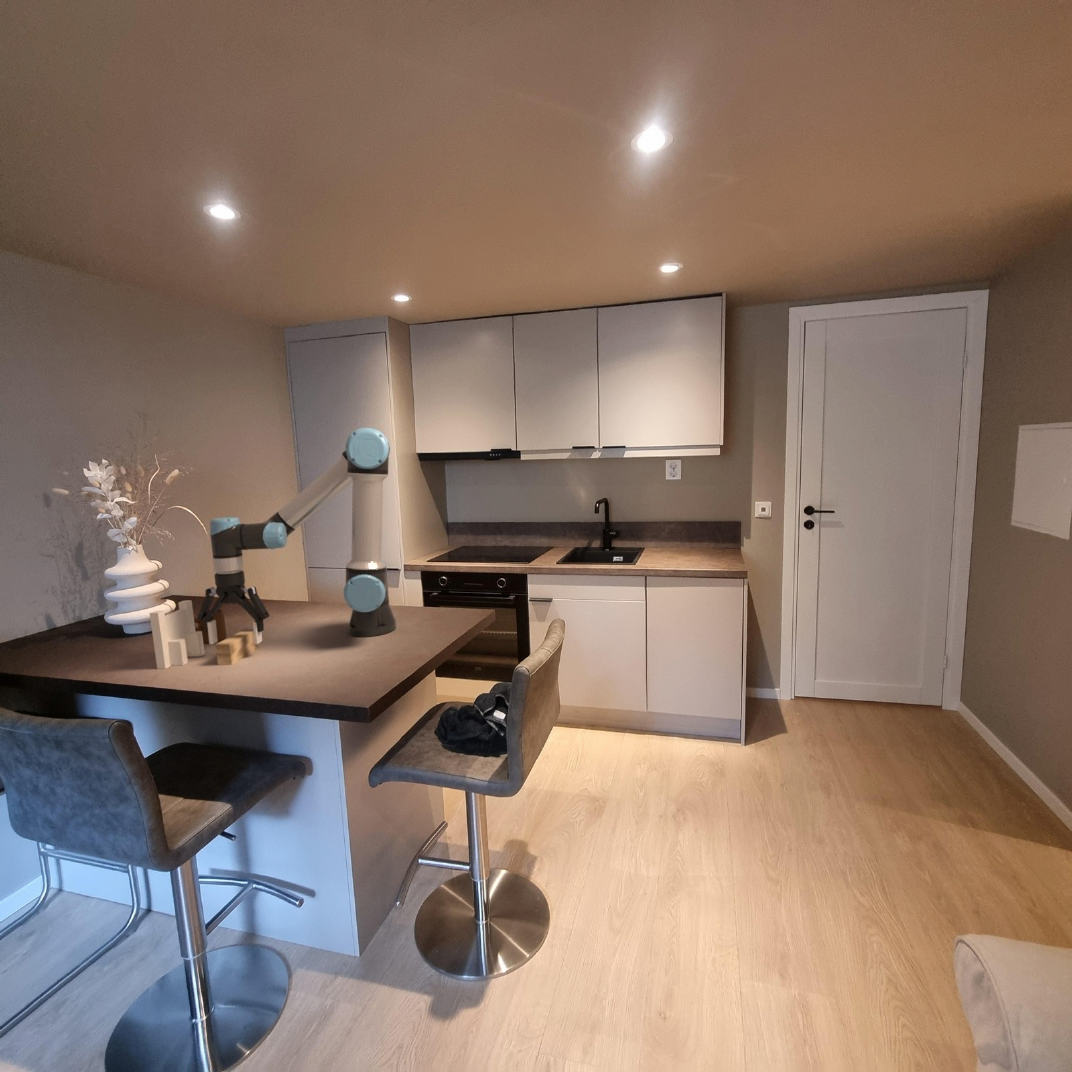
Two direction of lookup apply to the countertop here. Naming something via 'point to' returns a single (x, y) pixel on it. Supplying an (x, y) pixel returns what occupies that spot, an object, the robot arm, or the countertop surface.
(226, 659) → the wooden block
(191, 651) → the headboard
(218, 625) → the mug
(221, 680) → the countertop surface
